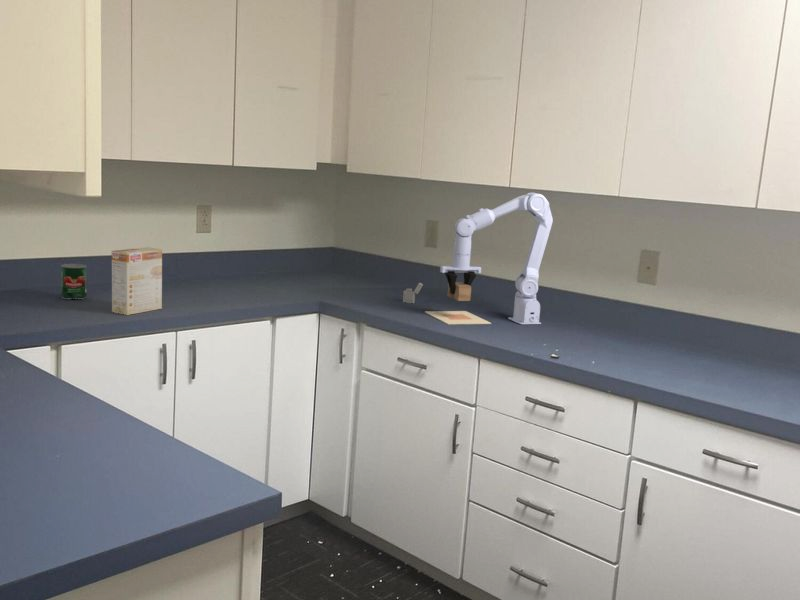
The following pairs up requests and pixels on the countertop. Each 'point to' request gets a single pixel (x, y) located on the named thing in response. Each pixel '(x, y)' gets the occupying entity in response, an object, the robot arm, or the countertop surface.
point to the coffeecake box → (136, 280)
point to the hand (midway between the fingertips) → (459, 293)
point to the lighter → (411, 294)
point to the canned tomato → (73, 281)
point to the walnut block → (460, 292)
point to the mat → (457, 317)
